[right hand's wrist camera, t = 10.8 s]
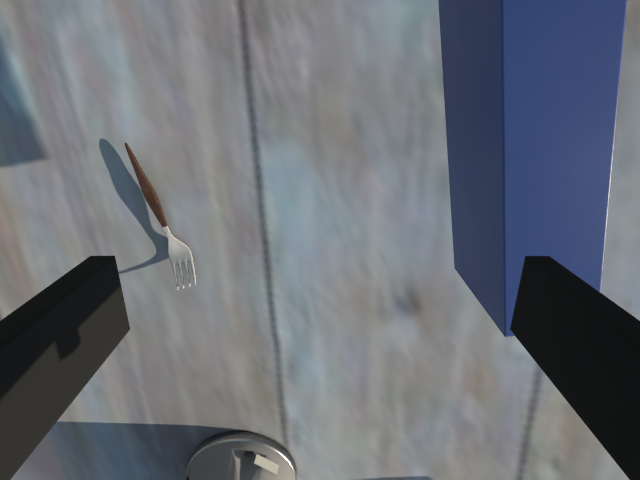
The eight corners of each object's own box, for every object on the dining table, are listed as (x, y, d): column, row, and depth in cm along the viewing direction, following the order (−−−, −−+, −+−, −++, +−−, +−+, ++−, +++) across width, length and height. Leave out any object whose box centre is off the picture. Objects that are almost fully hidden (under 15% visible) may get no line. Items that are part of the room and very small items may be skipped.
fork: (139, 138, 38) (130, 141, 36) (202, 276, 44) (197, 284, 42) (116, 146, 39) (105, 149, 37) (181, 282, 44) (175, 290, 42)
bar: (520, 258, 29) (598, 324, 21) (454, 268, 30) (504, 337, 21) (523, -160, 21) (658, -332, 12) (429, -139, 21) (498, -290, 13)
